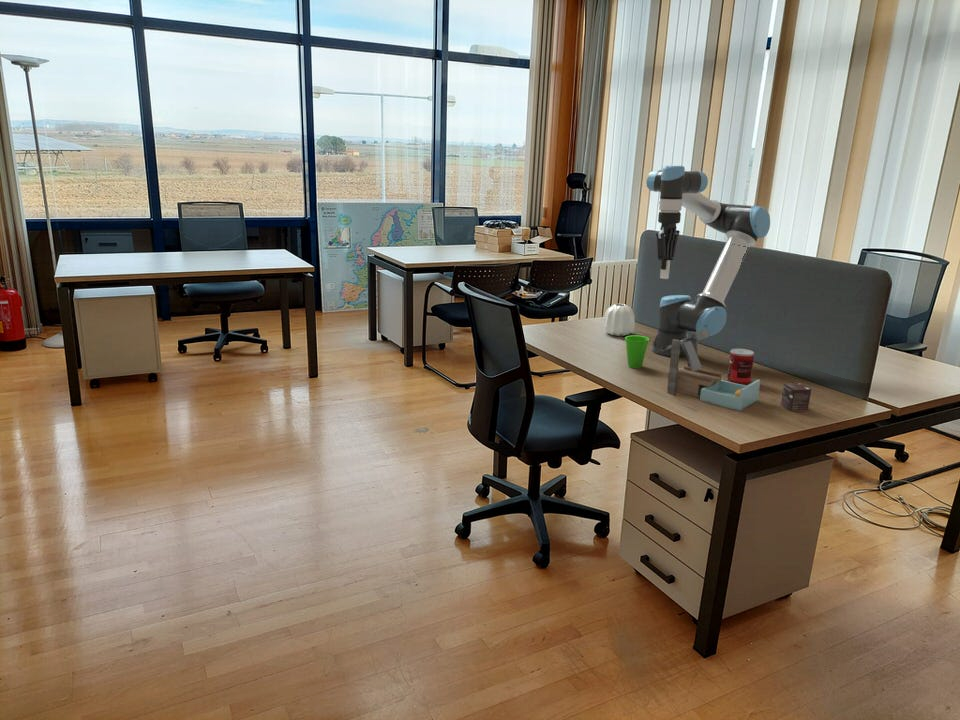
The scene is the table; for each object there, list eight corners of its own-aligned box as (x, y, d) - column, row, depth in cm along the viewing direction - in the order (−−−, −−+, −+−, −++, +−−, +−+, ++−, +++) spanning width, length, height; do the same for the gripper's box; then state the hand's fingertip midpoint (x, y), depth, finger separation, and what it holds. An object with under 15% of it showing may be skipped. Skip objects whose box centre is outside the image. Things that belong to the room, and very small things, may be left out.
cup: (647, 370, 254) (650, 342, 251) (622, 368, 256) (624, 340, 252) (647, 363, 262) (649, 335, 259) (623, 362, 264) (624, 334, 261)
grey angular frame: (682, 381, 241) (687, 331, 236) (723, 391, 231) (729, 338, 226) (662, 391, 231) (667, 338, 226) (704, 402, 221) (710, 347, 216)
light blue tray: (717, 390, 232) (720, 371, 230) (757, 400, 223) (760, 379, 221) (699, 400, 223) (701, 380, 221) (740, 410, 214) (743, 389, 212)
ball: (741, 385, 221) (752, 393, 219) (735, 394, 223) (745, 402, 222) (736, 388, 218) (747, 396, 217) (729, 397, 221) (740, 405, 219)
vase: (609, 338, 298) (611, 308, 294) (598, 330, 311) (599, 302, 307) (639, 337, 301) (641, 307, 297) (626, 329, 314) (628, 300, 310)
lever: (677, 375, 240) (664, 344, 241) (725, 358, 227) (711, 325, 228) (661, 383, 233) (648, 350, 234) (710, 365, 219) (696, 331, 220)
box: (780, 404, 220) (783, 383, 218) (798, 404, 220) (801, 382, 218) (790, 411, 214) (793, 389, 212) (808, 411, 214) (811, 389, 212)
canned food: (733, 376, 248) (736, 347, 245) (754, 381, 242) (758, 351, 239) (723, 380, 243) (726, 351, 240) (744, 386, 237) (748, 355, 234)
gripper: (669, 209, 245) (663, 274, 252) (650, 211, 236) (645, 279, 243) (688, 211, 241) (682, 277, 247) (670, 213, 231) (664, 281, 238)
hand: (664, 278), depth 245 cm, fingers closed
